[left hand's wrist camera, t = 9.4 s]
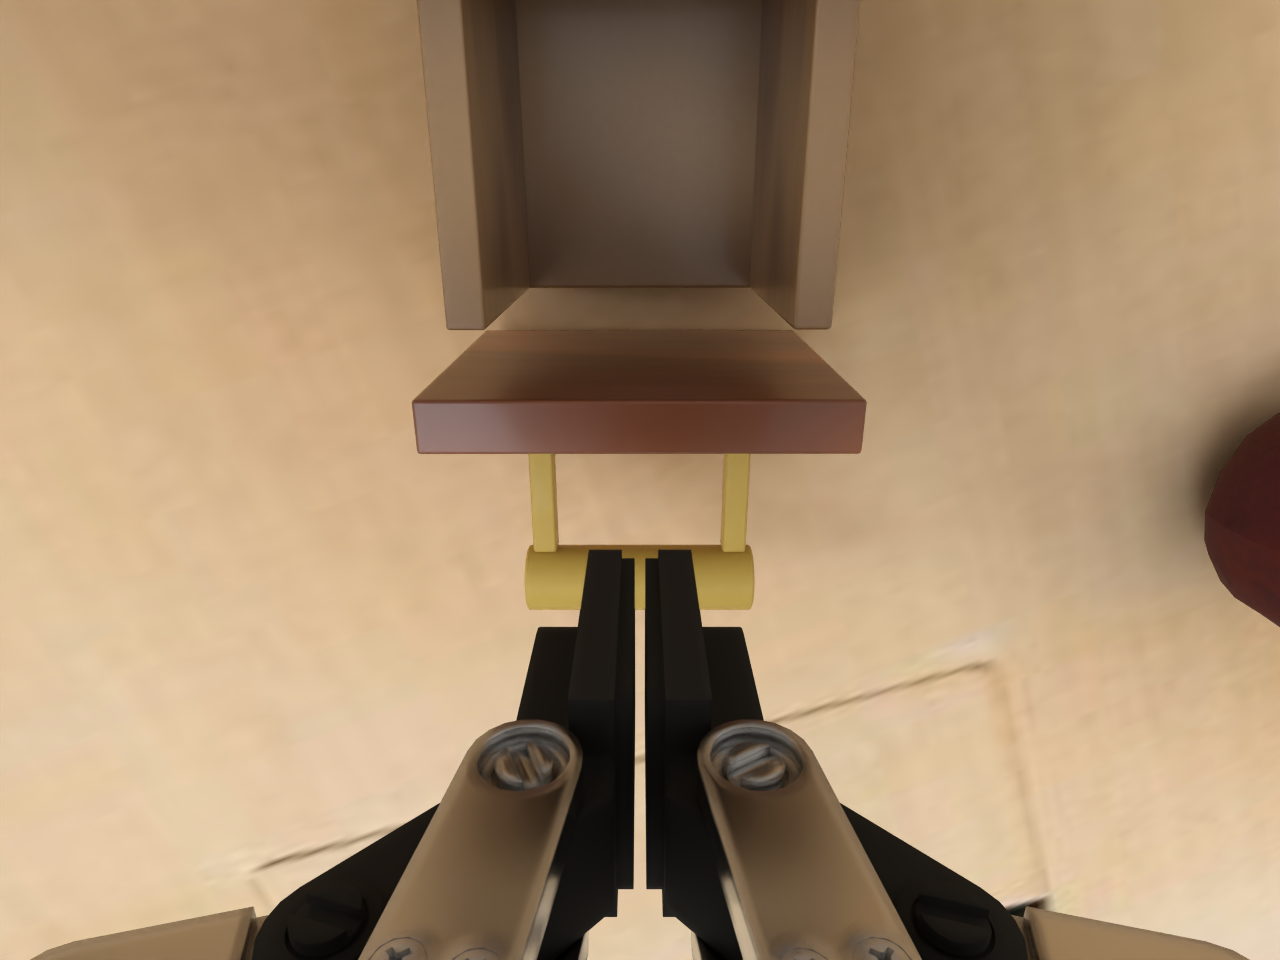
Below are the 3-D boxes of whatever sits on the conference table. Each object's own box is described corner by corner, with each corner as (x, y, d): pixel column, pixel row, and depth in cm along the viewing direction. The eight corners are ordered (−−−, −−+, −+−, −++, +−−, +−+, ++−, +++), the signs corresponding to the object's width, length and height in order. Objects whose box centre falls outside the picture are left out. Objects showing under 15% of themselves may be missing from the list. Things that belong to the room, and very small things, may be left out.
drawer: (780, 521, 26) (839, 663, 18) (499, 521, 26) (439, 663, 18) (843, -379, 18) (999, -809, 10) (434, -378, 18) (276, -809, 10)
